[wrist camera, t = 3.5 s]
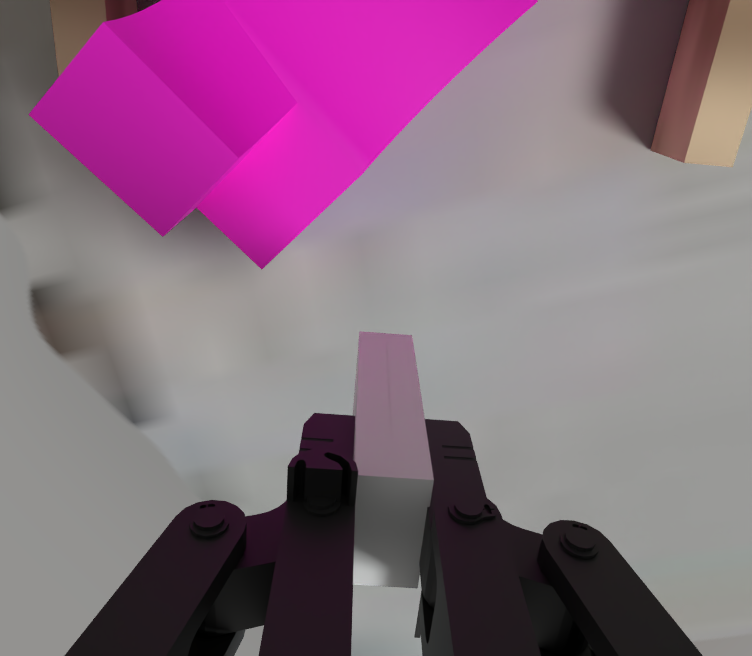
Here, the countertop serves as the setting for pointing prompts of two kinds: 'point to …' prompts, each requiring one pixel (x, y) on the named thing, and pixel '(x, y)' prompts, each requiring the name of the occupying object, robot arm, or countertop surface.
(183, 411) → the countertop surface
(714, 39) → the rack bay
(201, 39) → the toy block
